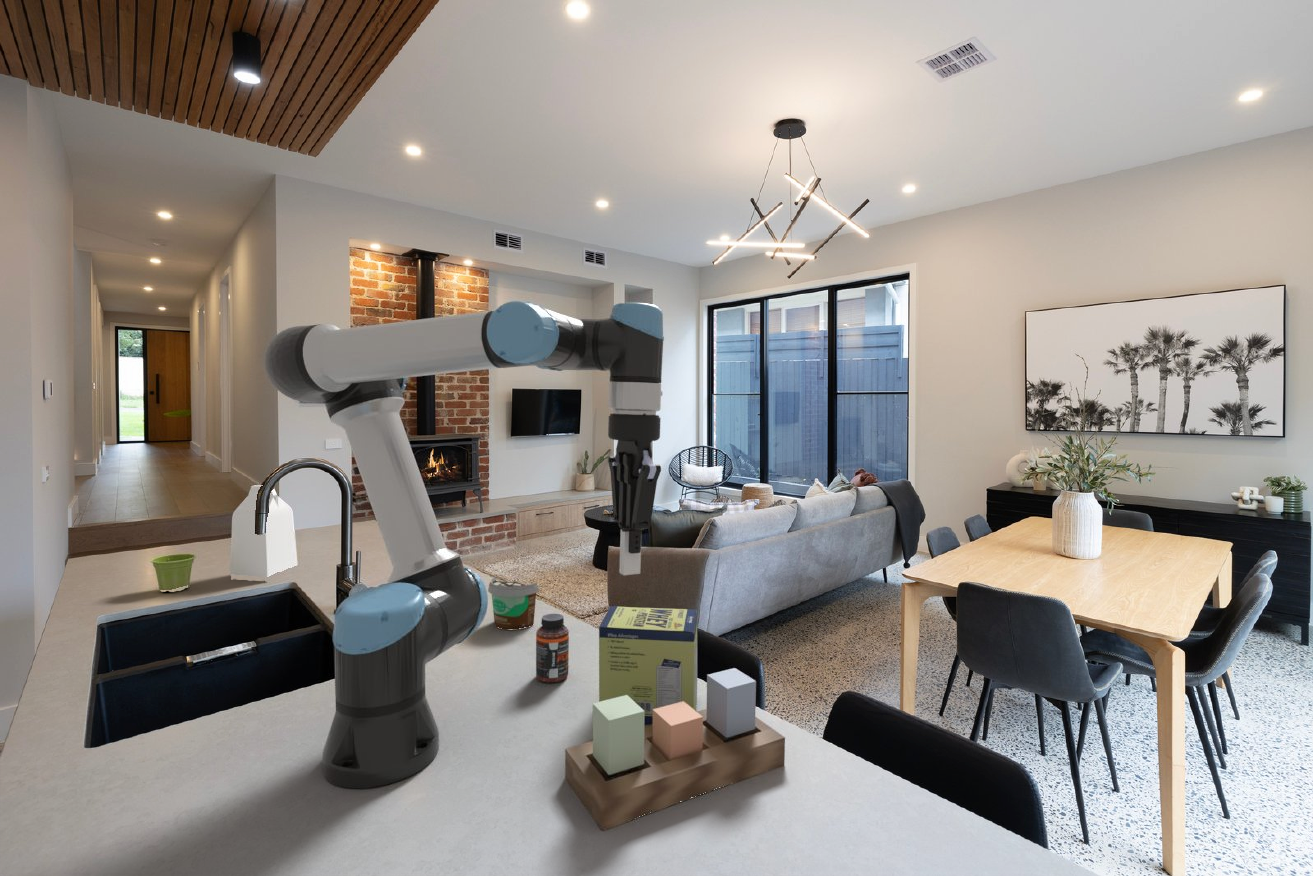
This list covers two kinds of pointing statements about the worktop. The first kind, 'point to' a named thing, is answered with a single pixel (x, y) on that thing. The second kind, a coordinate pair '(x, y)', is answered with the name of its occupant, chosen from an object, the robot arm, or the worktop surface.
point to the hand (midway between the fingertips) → (629, 573)
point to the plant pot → (173, 570)
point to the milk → (262, 538)
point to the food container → (513, 603)
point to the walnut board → (670, 772)
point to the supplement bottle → (552, 649)
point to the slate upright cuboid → (731, 702)
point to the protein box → (649, 657)
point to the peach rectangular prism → (677, 730)
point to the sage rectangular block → (618, 734)
